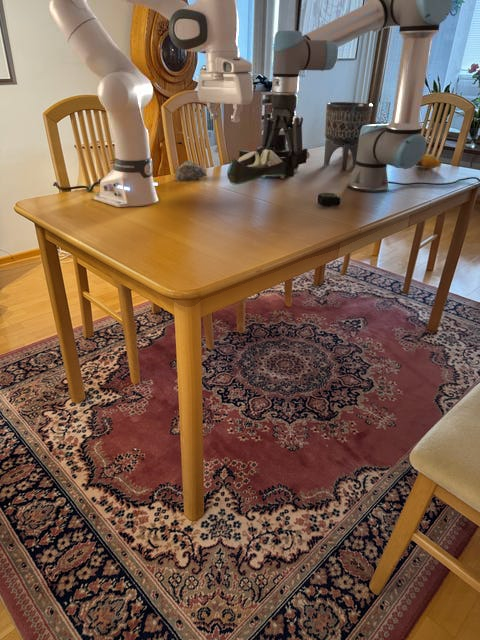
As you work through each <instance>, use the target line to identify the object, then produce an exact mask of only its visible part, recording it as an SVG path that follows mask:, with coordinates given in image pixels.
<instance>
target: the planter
mask: <svg viewBox="0 0 480 640" xmlns="http://www.w3.org/2000/svg"><path fill="white" fill-rule="evenodd" d="M373 107H374V106H373V104H372V103H367V102H353V101H333V102H327V103H326V109H325V124H324V125H325V126H324V139H325V144H324V156H323V157H324V158H323V165H325V166H328V165H330V163H331V158H332V156H333V154H334V153H335V151H336V150H337V149H340V148H341V152H342V153H341V166H340V170H341V172H345V171H347V167H348V166H347V165H348V159H349V154H348V152H349V150H350V151H351V153H352V154H351V157H352V158H351V159H352V160H351V161H352V166H353V167H355V165H356V158H357V150H358V142H359V135H360V131H361V128H362V127H363V126H364V125H370V121H371V116H372V112H373Z"/></svg>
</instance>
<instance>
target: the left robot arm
mask: <svg viewBox="0 0 480 640" xmlns="http://www.w3.org/2000/svg"><path fill="white" fill-rule="evenodd" d="M122 1H123V2H126V3H129V4H133V5H138V6H141V7H145V8H148V9H151V10H153V11H154V12H156V13H158V14H160V15H161V16H162V17H164V18H165V19H167V21H169V23H168V34H169V39H170V40H171V42H172V44H173V45H174V46H175V47H176V48H178V49H179V50H182V51H184V52H191V53H200V54H205V64H203V65H202V66H201V67H200V69H199V73H198V77H197V98H198V101H199V102H201V103H206V107H207V110H208V112H209V115H210V116H209V117H210V120H211V121H218V120H219V113H218V112H217V109H216V107H217V104H227V105H232V108H233V114H231V115H230V117H231V119H230V121H231V123H235V124H236V123H239V122H240V115H241V113H242V110H243V106H245V105H250V104H251V103H252V102H253V97H254V82H253V76H252V74H251V72H252V71H253V63H252V62H251V61H248V60H247V59H245V58H243V57H242V56H240V49H239V45H238V36H239V15H238V6H237V1H236V0H196V1H194V2H193V3H191V4H189V3H187V1H186V0H122ZM48 10H49V13H50V15H51V18H52V20H53V21H54V23H55V25H56V26H57V28H58V31H60V33H61V35H62V36H63V37H64V39H65V40H66V43H67V44H68V45H69V46H70V48H71V49H72V51H74V53H75V55H77V57H78V58H79V60H80V61H81V62H82V64H83V65H84V67H85V68H86V69H87V70H89V71H90V72H91V73H93V74H94V75H95V76H97V77H98V79H100V81H99V83H98V85H97V98H98V100H99V102H100V104H101V106H102V107H103V108H104V109H105V112H106V115H107V118H108V122H109V125H110V127H111V131H112V136H113V137H112V138H113V144H114V152H115V153H114V154H115V158H114V159H113V158H112V159H109V162H110V163H109V164H110V165H112V164H113V165H112V169H111V171H109V172H108V173H107V174H106V175H105V176H104V177H102V178H98V181H96V182H94V183H92V184H91V186H90V187H89V186H88V185H75V186H66V187H62V186H59V184H58V182H57V181H54V183H53V184H52V187H56V188H57V189H58V190H61V191H70V190H71V191H72V190H77V189H86V190H87V192H89V193H91V192H93V190H94V188H95V186H97V185H98V187H99V192H97V193H96V194H95V195H93V200H94V201H98V202H101V203H104V204H108V205H110V206H113V207H117V208H126V207H141V206H142V207H143V206H149V205H153V204H155V203H158V201H159V197H158V194H157V190H156V186H158V182H155V181H154V177H153V176H154V175H153V159H152V158H153V157H151V149H150V134H149V131H148V129H147V127H146V125H145V121H144V118H143V114H142V110H143V109H144V108H145V107H146V106H148V104H149V103H150V102H151V100H152V98H153V95H154V87H153V85H152V82H151V80H150V79H149V78H148V77H147V76H146V75H145V74H143V73H142V71H141V70H139V68H138V67H137V66H136V65H135V64H134V63H133V62H132V60H130V58H129V56H127V55H126V54H125V53H124V52H123V51H122V49H121V48H120V47H118V45H117V44H116V43H115V41H114V40H113V38H112V37H111V36H110V34H109V33H108V32H107V30H106V29H105V27H104V26H103V25H102V23H101V22H100V20H99V19H98V18H97V16H96V15H95V13H94V12H93V11H92V9H91V8H90V6H89V4H88V2H87V0H50V1H49V3H48Z"/></svg>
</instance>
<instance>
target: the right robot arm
mask: <svg viewBox="0 0 480 640" xmlns="http://www.w3.org/2000/svg"><path fill="white" fill-rule="evenodd" d="M452 7H453V0H366V1H365V3H364V4H363V5H361V6H359V7H358V8H355V9H353V10H351V11H349V12H347V13H345V14H343V15H341V16H339V17H337V18H335V19H333V20H331V21H330V22H327V23H325V24H323V25H321V26H319V27H317V28H315V29H313V30H311V31H309V32H307V33H305V34H303V33H302V31H300V30H278V31H277V32H275V35H274V41H273V49H272V51H273V56H272V57H273V58H272V59H273V62H272V81H271V82H272V84H271V85H272V87H271V91H272V93H273V94H271V100H270V101H271V104H270V105H271V106H270V107H271V109H272V112H268V113H265V114H264V126H263V133H262V134H263V135H262V142H261V146H262V147H265V148H266V149H267V150H272V151H273V152H274V153H275V154H276V150H273V149H275V147H274V146H275V143H276V141H277V138H278V135H279V132H280V130H281V129H283V131H284V132H285V135H286V144H288V149H289V154H288V155H287V167H286V176H285V178H292V177H294V176H295V172H294V166H295V165H296V157H297V154H299V153H302V151H303V150H302V148H303V122H304V118H303V117H302V116H297V115H296V109H297V107H298V97H299V96H298V95H297V93H298V92H299V82H300V71H321V72H324V71H331V70H332V69H334V67H335V66H336V65H337V62H338V60H339V59H338V58H339V48H340V47H342V46H344V45H346V44H347V43H350V42H352V41H354V40H355V39H357V38H360V37H361V36H364V35H366V34H367V33H369V32H374V33H377V32H379V31H381V30H384V29H387V28H392V27H399V28H398V33H399V35H400V36H401V37H402V46H401V52H400V60H399V66H398V74H397V81H396V89H395V96H394V97H395V98H394V103H393V111H392V117H391V121H390V122H389V123H386V124H384V123H383V124H382V123H381V124H369V125H364V126H363V127H362V128H361V131H360V135H359V142H358V150H357V158H356V165H355V166H354V167H353V171H351V172H350V173H348V177H349V179H348V180H347V181H348V182H347V187H348V188H349V189H351V190H354V191H358V192H363V193H364V192H365V193H382V192H386V191H388V189H389V185H390V184H391V185H399V186H411V185H429V186H446V185H447V186H448V185H452V184H453V185H454V184H456V183H458V182H460V181H466V180H477V181H478V182H480V178H479V177H477V176H470V177H464V178H458V179H456V180H455V181H450V182H440V183H439V182H424V181H423V182H421V181H419V182H418V181H417V182H415V181H414V182H407V183H406V182H404V183H403V182H397V181H389V178H388V173H387V172H388V171H387V166H391V167H394V168H396V169H403V170H408V169H411V168H413V167H415V166H416V164H417V163H418V162H419V161H420V160H421V159H422V157H423V156H424V155H425V153H426V150H427V140H426V138H425V137H424V135H423V134H422V130H423V126H422V124H421V123H420V121H419V119H420V114H421V108H422V101H423V97H424V95H423V94H424V88H425V83H426V79H427V78H426V77H427V71H428V65H429V59H430V52H431V48H432V41H433V38H434V37H435V36H436V35H437V34H438V33H439V30H440V25H441V24H442V23H443V22H444V21H445V20H446V19H447V17H448V16H449V15H450V13H451V10H452ZM266 142H267V143H266Z"/></svg>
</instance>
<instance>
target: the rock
mask: <svg viewBox="0 0 480 640" xmlns="http://www.w3.org/2000/svg"><path fill="white" fill-rule="evenodd" d="M204 177H208V176H207V170H206V169H205V168H204V166H202V165H200V164H198V163H195V162H192V161H190V160H185V161H184V162H183V163H182V164H181V165H180V166H178V167H177V168H176V171H175V173H174V180H175V181H180V182H191V181H194V182H195V181H200V179H203V178H204Z"/></svg>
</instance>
